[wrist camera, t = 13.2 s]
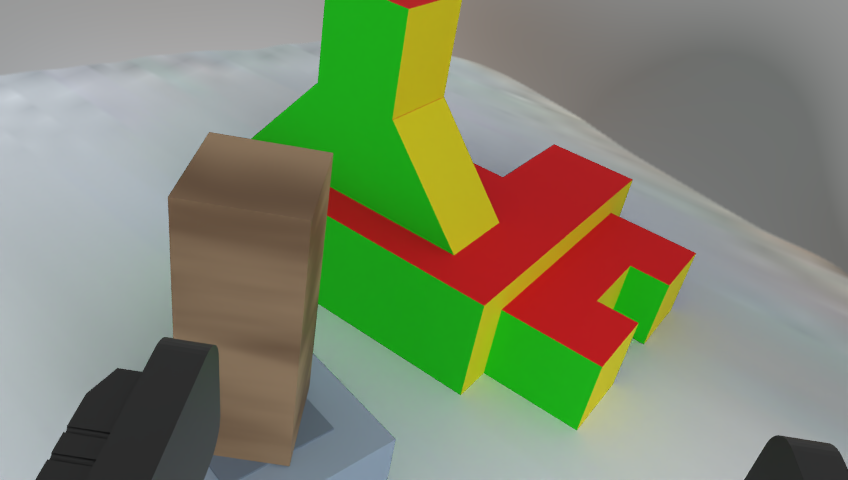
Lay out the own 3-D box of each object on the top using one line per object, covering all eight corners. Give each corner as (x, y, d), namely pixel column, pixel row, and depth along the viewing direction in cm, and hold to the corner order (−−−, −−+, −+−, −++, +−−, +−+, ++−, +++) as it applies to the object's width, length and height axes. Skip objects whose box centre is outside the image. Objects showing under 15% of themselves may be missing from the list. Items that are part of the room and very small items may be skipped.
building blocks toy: (555, 460, 39) (679, 143, 29) (217, 242, 49) (219, -49, 39) (681, 297, 52) (797, 42, 42) (396, 153, 63) (432, -81, 52)
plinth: (276, 376, 40) (280, 318, 38) (383, 497, 35) (396, 437, 33) (105, 454, 35) (98, 391, 32) (204, 610, 30) (203, 548, 27)
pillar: (209, 370, 34) (209, 132, 28) (309, 385, 34) (333, 153, 28) (177, 449, 31) (167, 196, 24) (289, 466, 31) (311, 220, 24)
